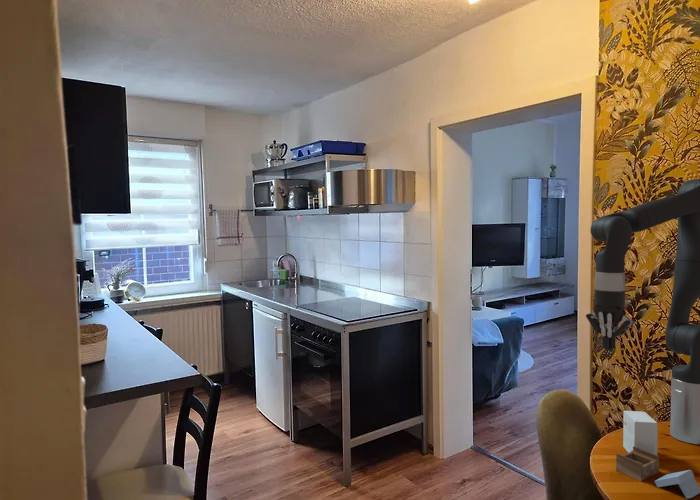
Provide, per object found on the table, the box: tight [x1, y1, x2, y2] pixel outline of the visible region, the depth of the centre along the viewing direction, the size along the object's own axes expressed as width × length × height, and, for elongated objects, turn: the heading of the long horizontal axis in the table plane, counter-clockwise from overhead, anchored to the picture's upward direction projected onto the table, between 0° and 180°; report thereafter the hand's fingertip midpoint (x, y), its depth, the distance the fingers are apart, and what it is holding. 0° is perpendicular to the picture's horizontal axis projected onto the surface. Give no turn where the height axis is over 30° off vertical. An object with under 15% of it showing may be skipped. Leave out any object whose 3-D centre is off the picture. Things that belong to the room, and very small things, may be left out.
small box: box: [622, 410, 659, 455], centre depth 125 cm, size 8×6×10 cm
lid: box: [654, 469, 700, 500], centre depth 109 cm, size 6×6×5 cm
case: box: [615, 446, 660, 482], centre depth 117 cm, size 8×6×4 cm
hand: (608, 349), depth 131 cm, fingers closed
